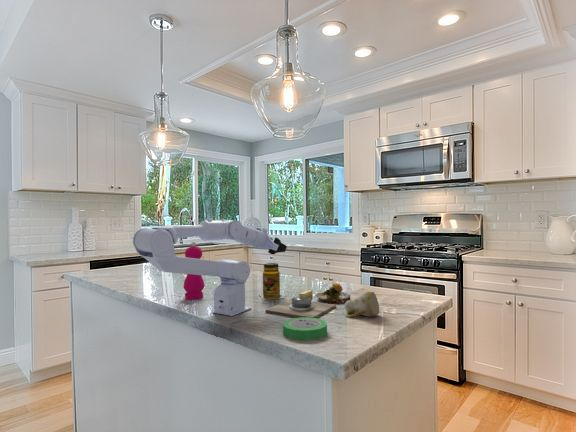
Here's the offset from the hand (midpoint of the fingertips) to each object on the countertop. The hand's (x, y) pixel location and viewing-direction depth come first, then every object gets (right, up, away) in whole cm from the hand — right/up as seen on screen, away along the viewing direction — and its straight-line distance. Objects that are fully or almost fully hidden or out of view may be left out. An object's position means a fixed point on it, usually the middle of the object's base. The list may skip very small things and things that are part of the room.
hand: (278, 245), depth 129 cm
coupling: (+8, -17, -14) cm, 24 cm away
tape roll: (+8, -20, -36) cm, 42 cm away
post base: (+8, -19, -15) cm, 25 cm away
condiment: (-3, -19, +3) cm, 19 cm away
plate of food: (+19, -19, -2) cm, 27 cm away
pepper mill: (-30, -19, +2) cm, 36 cm away
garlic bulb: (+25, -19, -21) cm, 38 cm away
